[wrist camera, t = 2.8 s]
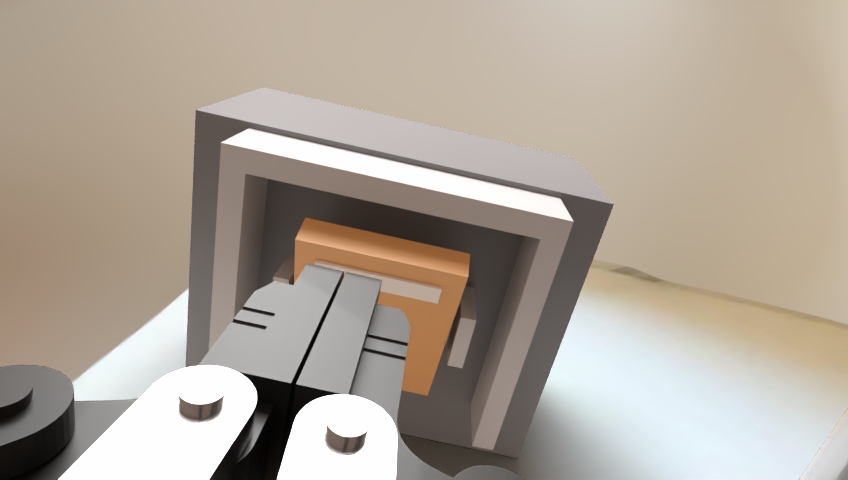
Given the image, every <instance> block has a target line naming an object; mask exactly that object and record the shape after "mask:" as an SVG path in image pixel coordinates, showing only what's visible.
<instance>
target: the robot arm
mask: <svg viewBox="0 0 848 480" xmlns="http://www.w3.org/2000/svg"><path fill="white" fill-rule="evenodd" d="M381 284H382V280H380V279H376V278H371V277H367V276H362V275H358V274H353V273H349V272H346V274H345V276H344V271H340V270H335V269H331V268H326V267H322V266H318V265H313V264H309V263H308V264H307V265H306V266H305V268H304V269H303V271H302V272H301V274H300V276H299V277H298V279H297V280H296V282H295V283H294V285H290V284H285V283H281V282H276V281H274V282H272V283H270V284H268V285H266V286H264V287H262V288H260V289H258V290H256V291H254V293H253V294H252V295H251V297H250V298H249V299H248V301H247V302H246V303H245V305H244V306H243V309H241V310H240V311H239V312H238V314H237V315H236V316H235V318H234V319H233V322H231V323H230V324H229V325H228V327H227V328H226V329H225V331H224V332H223V333H222V335H221V336H220V337H219V338H218V340H217V341H216V342H215V344H214V345H213V346H212V348H211V349H210V350H209V351H208V353H207V354H206V355H205V357H204V358H203V359H202V361H201V362H200V363H199V365H198V366H193V367H188V368H183V369H180V370H177V371H174V372H172V373H170V374H167V375H165V376H164V377H162V378H161V379H159V380H158V381H157V382H155V383H154V384H153V385H152V386H151V387H150V388H149V389H148V390H147V391H146V392H145V393H144V394H143V395H142V396H141V397H140V398H138V399H132V400H108V401H74V389H73V385H72V382H71V381H70V379H69V378H68V377H67V376H66V375H64V374H63V373H61V372H59V371H57V370H55V369H52V368H48V367H45V366H37V365H11V366H4V367H0V480H526V479H525V478H523V477H522V476H520V475H518V474H517V473H515V472H512V471H510V470H508V469H505V468H502V467H498V466H492V465H477V466H472V467H469V468H466V469H464V470H462V471H460V472H459V473H458V474H457V475H455V476H454V478H453V477H451V476H449V475H447V474H445V473H443V472H441V471H439V470H437V469H435V468H433V467H432V466H430V465H428V464H426V463H425V462H423V461H422V460H421V459H419V458H418V457H417V456H416V455H415V454H414V453H412V452H411V451H410V449H409V448H408V447H407V446H406V444H405V443H404V441H403V440H402V438H401V436H400V433H399V430H398V426H397V414H398V408H399V401H400V394H401V388H402V381H403V374H404V368H405V360H406V354H407V348H408V341H409V334H410V328H411V326H410V324H409V322H408V320H407V318H406V316H405V314H404V312H403V310H401V309H397V308H392V307H388V306H383V305H379V304H377V303H378V298H379V294H380V289H381ZM799 480H848V409H847V410H846V411H845V413H844V414H843V416H842V417H841V419H840V420H839V422H838V423H837V425H836V426H835V427H834V429H833V430H832V432H831V433H830V435H829V436H828V438H827V439H826V441H825V442H824V443H823V445H822V446H821V448H820V449H819V451H818V452H817V454H816V455H815V457H814V458H813V459H812V461H811V462H810V464H809V465H808V467H807V468H806V470H805V471H804V473H803V474H802V475H801V477H800V478H799Z"/></svg>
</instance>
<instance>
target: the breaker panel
mask: <svg viewBox="0 0 848 480" xmlns="http://www.w3.org/2000/svg"><path fill="white" fill-rule="evenodd" d="M194 147H195V148H194V172H193V196H192V197H193V199H192V224H191V248H190V275H189V299H188V325H187V351H186V368H188V367H193V366H198V365H199V363H200V362H201V361H202V359H203V358H204V357H205V355H206V354H207V353H208V351H209V350H210V349H211V348H212V346H213V345H214V344H215V342H216V341H217V340H218V338H219V337H220V336H221V335H222V333H223V332H224V331H225V329H226V328H227V327H228V325H229V324H230V323H231V322H233V319H234V318H235V316H236V315H237V314H238V312H239V311H240V310H241V309H243V306H244V305H245V303H246V302H247V301H248V299H249V298H250V297H251V295H252V294H253V293H254V291H256V290H258V289H260V288H262V287H264V286H266V285H268V284H270V283H272V282H274V281H276V282H281V283H285V284H290V285H294V262H295V238H296V236H297V234H298V232H299V230H300V228H301V226H302V224H303V222H304V220H305V217H306V218H310V219H315V220H319V221H324V222H328V223H333V224H338V225H342V226H347V227H351V228H356V229H360V230H365V231H369V232H374V233H378V234H383V235H387V236H392V237H396V238H401V239H405V240H410V241H414V242H419V243H423V244H428V245H432V246H437V247H441V248H446V249H450V250H455V251H460V252H464V253H469V254H470V263H469V276H468V280H467V283H466V286H465V288H464V291H463V294H462V297H461V300H460V303H459V306H458V309H457V312H456V315H455V317H454V320H453V323H452V326H451V329H450V334H449V338H448V341H447V343H445V346H444V349H443V352H442V355H441V358H440V361H439V364H438V367H437V370H436V372H435V375H434V378H433V381H432V384H431V387H430V390H429V393H428V396H426V395H422V394H417V393H412V392H408V391H403V390H401V394H400V401H399V408H398V414H397V426H398V430H399V433H400V434H405V435H410V436H415V437H419V438H424V439H429V440H434V441H438V442H443V443H448V444H453V445H457V446H462V447H467V448H472V449H476V450H481V451H486V452H491V453H495V454H500V455H505V456H510V457H514V458H517V457H518V454H519V452H520V449H521V446H522V444H523V441H524V439H525V436H526V433H527V431H528V428H529V425H530V423H531V420H532V418H533V415H534V412H535V410H536V407H537V404H538V402H539V399H540V397H541V394H542V391H543V389H544V386H545V383H546V381H547V378H548V376H549V373H550V370H551V368H552V365H553V362H554V360H555V357H556V355H557V352H558V349H559V347H560V344H561V341H562V339H563V336H564V334H565V331H566V328H567V326H568V323H569V320H570V318H571V315H572V313H573V310H574V307H575V305H576V302H577V300H578V297H579V294H580V292H581V289H582V286H583V284H584V281H585V279H586V276H587V273H588V271H589V268H590V265H591V263H592V260H593V258H594V255H595V252H596V250H597V247H598V244H599V242H600V239H601V237H602V234H603V231H604V228H605V226H606V223H607V221H608V218H609V216H610V213H611V210H612V208H613V203H612V202H611V201H610V199H609V198H608V197H607V196H606V195H605V194H604V193H603V191H602V190H601V189H600V188H599V187H598V185H597V184H596V183H595V182H594V181H593V180H592V178H591V177H590V176H589V175H588V174H587V173H586V171H585V170H584V169H583V168H582V167H581V166H580V164H579V163H578V162H577V161H576V160H575V159H574V158H571V157H567V156H563V155H558V154H553V153H550V152H545V151H541V150H536V149H532V148H527V147H523V146H518V145H514V144H510V143H506V142H501V141H497V140H492V139H488V138H484V137H479V136H474V135H471V134H466V133H462V132H457V131H453V130H449V129H444V128H440V127H435V126H431V125H427V124H422V123H418V122H414V121H409V120H405V119H400V118H396V117H392V116H387V115H383V114H378V113H374V112H369V111H365V110H361V109H356V108H352V107H348V106H343V105H339V104H335V103H330V102H326V101H321V100H317V99H313V98H308V97H303V96H299V95H295V94H291V93H286V92H282V91H277V90H273V89H269V88H264V87H263V88H260V89H257V90H254V91H251V92H248V93H245V94H242V95H239V96H236V97H233V98H230V99H227V100H224V101H221V102H218V103H215V104H212V105H209V106H206V107H203V108H200V109H197V110H196V120H195V145H194Z"/></svg>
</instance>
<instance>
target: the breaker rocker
mask: <svg viewBox="0 0 848 480" xmlns="http://www.w3.org/2000/svg"><path fill="white" fill-rule="evenodd" d="M308 263H309V264H313V265H318V266H322V267H326V268H331V269H335V270H340V271H344V276H345V274H346V272H349V273H353V274H358V275H362V276H367V277H371V278H376V279H380V280H382V284H381V289H380V294H379V298H378V303H377V304H379V305H383V306H388V307H392V308H397V309H401V310H403V312H404V314H405V316H406V318H407V320H408V322H409V324H410V326H411V328H410V334H409V341H408V348H407V354H406V360H405V368H404V374H403V381H402V388H401V390H403V391H408V392H412V393H417V394H422V395H426V396H428V393H429V390H430V387H431V384H432V381H433V378H434V375H435V372H436V370H437V367H438V364H439V361H440V358H441V355H442V352H443V349H444V346H445V343H447V341H448V338H449V334H450V329H451V326H452V323H453V320H454V317H455V315H456V312H457V309H458V306H459V303H460V300H461V297H462V294H463V291H464V288H465V286H466V283H467V280H468V276H469V263H470V254H469V253H464V252H460V251H455V250H450V249H446V248H441V247H437V246H432V245H428V244H423V243H419V242H414V241H410V240H405V239H401V238H396V237H392V236H387V235H383V234H378V233H374V232H369V231H365V230H360V229H356V228H351V227H347V226H342V225H338V224H333V223H328V222H324V221H319V220H315V219H310V218H306V217H305V220H304V222H303V224H302V226H301V228H300V230H299V232H298V234H297V236H296V238H295V262H294V283H295V282H296V280H297V279H298V277H299V276H300V274H301V272H302V271H303V269H304V268H305V266H306V265H307V264H308Z"/></svg>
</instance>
